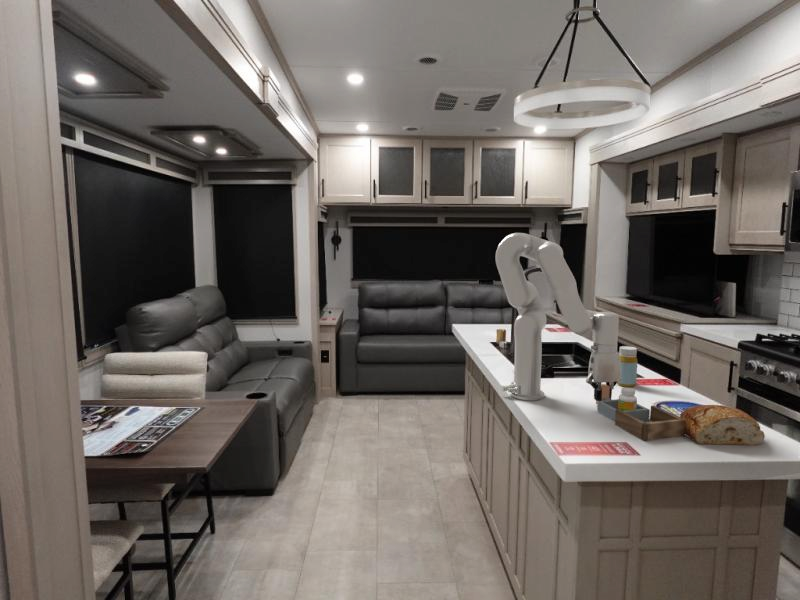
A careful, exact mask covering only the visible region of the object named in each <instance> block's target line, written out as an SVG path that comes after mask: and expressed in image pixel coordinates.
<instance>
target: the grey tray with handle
mask: <svg viewBox="0 0 800 600" xmlns="http://www.w3.org/2000/svg"><path fill="white" fill-rule="evenodd" d="M600 390H601V391H602V400H601V401H597V400H595V405H597V410H596V411H597V413H600V414H602V415H603V416H605V417H607V418H609V419H610V420H612V421H614V422H615V413H616V409H618V399H619V398H617V399H612V398H611V399H610V398H609V394H610V386H608V385H606V383H601V389H600ZM650 411H651V408H650V409H649V408H648V407H645V406H643V405H641V404H639V403H637V407H636V410H628V411H624V412H626V413H628V414H630V415H632V416H634V417H636V418H638V419H639V420H641V421H643V422H645V421H650Z"/></svg>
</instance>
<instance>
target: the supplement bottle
mask: <svg viewBox="0 0 800 600" xmlns="http://www.w3.org/2000/svg"><path fill="white" fill-rule="evenodd" d="M620 389H621V390H620V391H621V392H620V394H619V395H618V398H617V399H618V409H620V410H622V411H628V410H636V407H637V404H638V399H637V398H638V397H637V396H635V394H636V390H635V389H634V388H633V387H622V388H620Z"/></svg>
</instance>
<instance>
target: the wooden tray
mask: <svg viewBox="0 0 800 600" xmlns="http://www.w3.org/2000/svg"><path fill="white" fill-rule="evenodd" d="M649 421H650V422H645V421H641V420H639V419H638V418H636V417H634V416H632V415H630V414H628V413H626V412H624V411H622V410H620V409H616V413H615V421H614V426H617V427H618V428H620V429H621V430H623V431H625V432H627V433H629V434H630V435H632V436H634V437H636V438H638V439H639V440H641V441H642V442H648V441H649V442H650V441H658V440H665V439H674V438H675V439H676V438H683V437H684V438H685V437H686V434H685V428H686V420H685V419H682V418H680V416H678V415H676V414H674V413H671V412H669V411H667V410H665V409H662V408H660V407H658V406H656V405H650V414H649Z"/></svg>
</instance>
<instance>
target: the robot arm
mask: <svg viewBox="0 0 800 600" xmlns="http://www.w3.org/2000/svg"><path fill="white" fill-rule="evenodd" d="M520 257H524V258H526V259H529V260H532V261H534V262H535V261H536V262H537V264H538V266H539V268H540V270H541V272H542V273H543V275H544V277H545V279H546V281H547V283H548V285H549V287H550V289H551V291H552V294H553V296H554V299H555V301H556V303H557V306H558V309H559V311H560V313H561V315H562V316H563V319H564V321H565V322H566V324H567V326H568V328H569V329H570V330H571V332H572V333H574V334H576V335H579V336H583V335H586V334H589V333H590V332H591V331H593V345H591V346H590V349H591V350H592V351H591V354H590V358H589V362H588V372H587V374H588V375H587V378H586V379H585V383H587V384H588V385H590V386H591V387H592V389H593V390H594V391H593V399H594V401H596V400H597V401H601V400H602V391H601V390H600V389H601V384H604V383H605V384H606V385H608V386H610V394H609V398H610V399H612V395H613V394H612V393H613V392H612V391H613V390H614V389H615V386H616V385H618V384H617V383H618V382H619V381H621V361H620V355H619V351H618V339H619V323H620V321H619V320H620V319H619V315H618V313H616V312H612V311H611V312H610V311H594V310H591V309H590V310H589V309H586V308H585V306H584V304H583V302H582V300H581V298H580V297H581V296H580V294H579V292H578V287H577V280H576V279H575V278H576V277H575V276H574V275H573V272H572V271H571V269H570V267H569V265H568V264H567V262H566V259H565V258H564V250H563V248H562V247H561V246H560V245H559V244H558V243H556V242H553V241H549V240H546V239H543V238H540V237H538V236H534V235H531V234H528V233H525V232H514V233H510V234H508V235H506V236H505V237H504V238H503V239H502V240H501V241H500V242H499V244H498V246H497V249H496V251H495V265H496V268H497V270H498V274H499V276H500V280H501V283H502V286H503V290H504V292H505V296H506V298H507V302H508V304H509V305H510V306H512V307H513V308H514V309H516V310H517V312H518V315H517V317H516V318H515V320H514V325H513V332H514V334H513V335H514V336H513V337H514V368H513V369H514V370H513V374H514V375H513V381H512V382H511V383H510V384H509V385H502V386H501V391H502V392H507V393H509V395H510V396H511V397H512V398H514V399H516V400H521V401H540V400H543V399H544V398H545V396H546V395H545V391H543V390H542V389H541V382H542V381H541V379H542V377H541V376H542V355H543V354H542V353H543V351H542V350H543V349H542V345H543V342H542V331H543V329H545V327H546V325H547V314H546V312H545V311H546V310H545V309H544V306H543V303H542V300H541V297H540V293H539V292H538V289H537V288H536V286H535V284H533V282H530V281H528V280H527V278H526V275H525V271H524V268H523V266H522V264H521V261H520Z"/></svg>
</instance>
